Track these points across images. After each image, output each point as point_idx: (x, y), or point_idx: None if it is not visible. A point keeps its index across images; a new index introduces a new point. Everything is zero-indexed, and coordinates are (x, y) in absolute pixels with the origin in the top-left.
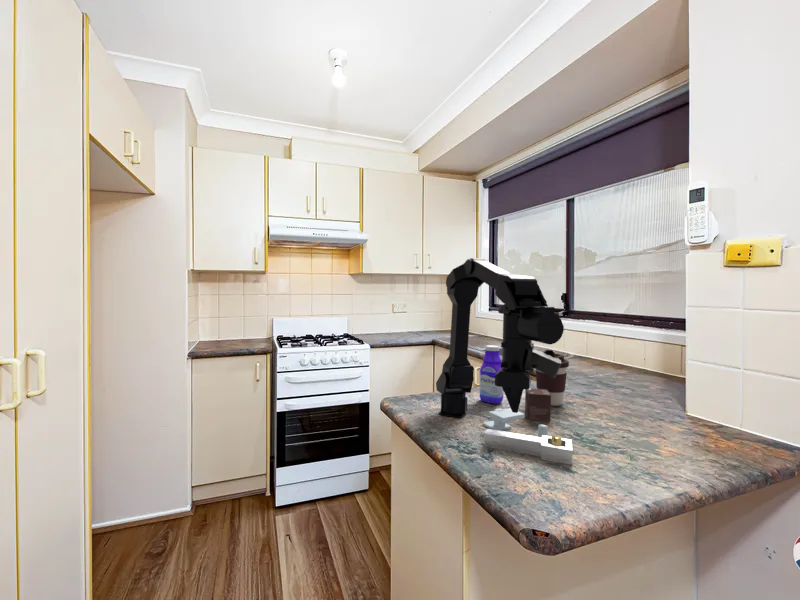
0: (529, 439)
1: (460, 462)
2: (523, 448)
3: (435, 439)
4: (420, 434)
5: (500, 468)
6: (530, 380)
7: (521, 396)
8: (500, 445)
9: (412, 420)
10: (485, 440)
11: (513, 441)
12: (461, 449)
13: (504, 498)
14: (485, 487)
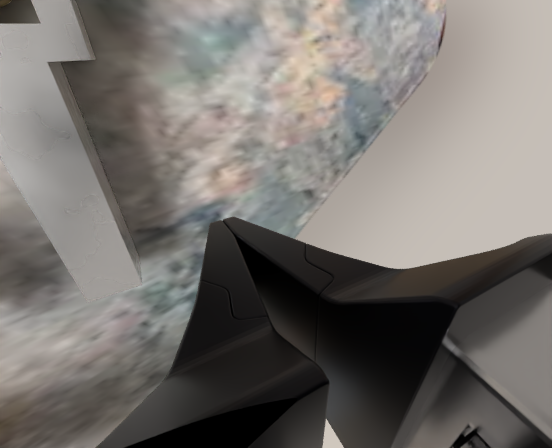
0: (58, 128)
1: None
2: (90, 142)
3: None
4: None
5: (251, 168)
6: (318, 368)
7: (209, 273)
8: (122, 220)
9: None
10: (139, 266)
11: (104, 188)
12: None
13: (367, 119)
14: (341, 165)
